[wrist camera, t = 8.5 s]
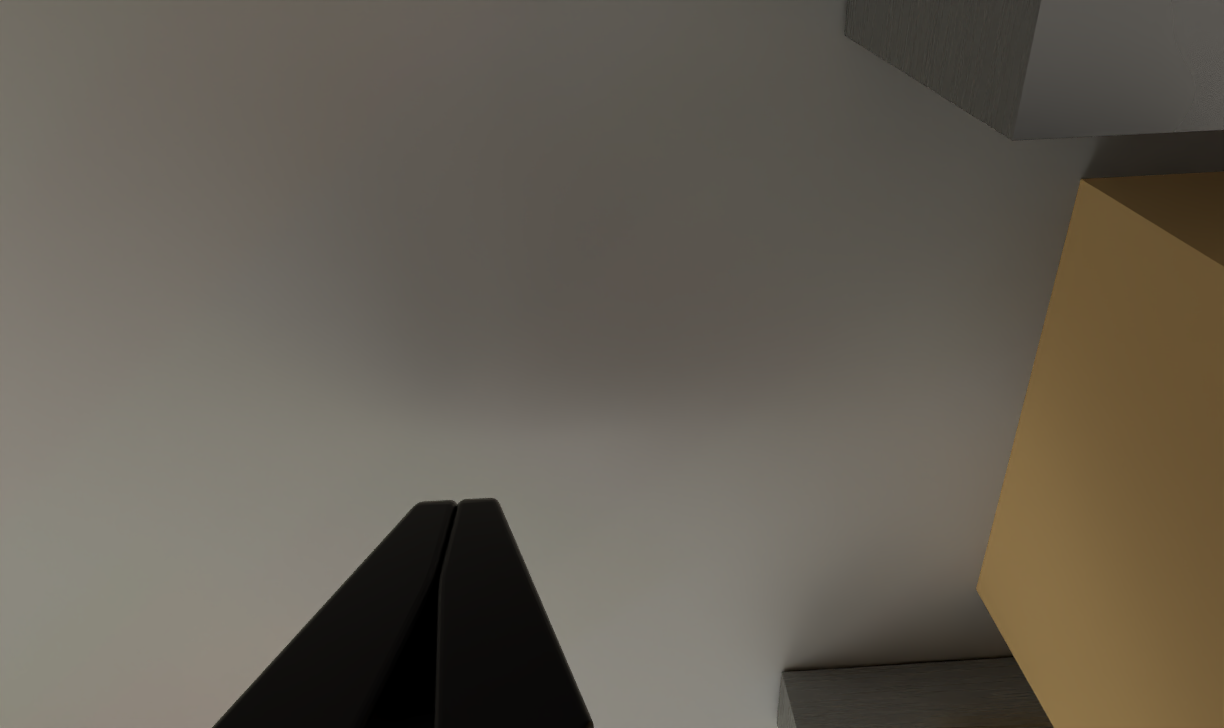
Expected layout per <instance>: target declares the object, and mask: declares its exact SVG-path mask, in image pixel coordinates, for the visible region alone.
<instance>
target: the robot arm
mask: <svg viewBox="0 0 1224 728" xmlns="http://www.w3.org/2000/svg"><path fill="white" fill-rule="evenodd" d="M212 728H594V725H593V721H592V719H591V717H590V714H589V712H588V710H587V707H586V705H585V703H584V700H583V698H582V696H581V693H580V691H579V689H578V686H577V684H576V681H575V679H574V677H573V674H572V672H571V670H570V667H569V665H568V663H567V660H566V658H565V656H564V653H563V651H562V649H561V646H560V644H559V642H558V639H557V637H556V635H555V632H554V630H553V628H552V625H551V623H550V621H549V618H548V616H547V614H546V611H545V609H544V607H543V604H542V602H541V600H540V597H539V595H538V592H537V590H536V588H535V585H534V583H533V581H532V578H531V576H530V574H529V571H528V569H527V567H526V564H525V562H524V560H523V557H522V555H521V553H520V550H519V548H518V546H517V543H516V541H515V539H514V536H513V534H512V532H511V529H510V527H509V525H508V522H507V520H506V518H505V515H504V513H503V511H502V508H501V506H500V504H499V502H498V501H497V500H496V499H494V498H480V499H464V500H462V501H460V502H459V503H458V505H457V503H456V502H455V501H453V500H442V501H424V502H419V503H418V504H416V505H415V506H414V507H413V508H412V509H411V510H410V511H409V512H408V513H407V514H406V515H405V517H404V518H403V519H402V520H401V521H400V522H399V523H398V524H397V525H396V526H395V528H394V529H393V530H392V531H391V532H390V533H389V534H388V535H387V536H386V537H385V538H384V540H383V541H382V542H381V543H380V544H379V545H378V546H377V547H376V548H375V549H374V551H373V552H372V553H371V554H370V555H369V556H368V557H367V558H366V559H365V560H364V562H363V563H362V564H361V565H360V566H359V567H358V568H357V569H356V570H355V571H354V573H353V574H352V575H351V576H350V577H349V578H348V579H347V580H346V581H345V582H344V583H343V585H342V586H341V587H340V588H339V589H338V590H337V591H336V592H335V593H334V594H333V596H332V597H331V598H330V599H329V600H328V601H327V602H326V603H325V604H324V605H323V607H322V608H321V609H320V610H319V611H318V612H317V613H316V614H315V615H314V616H313V618H312V619H311V620H310V621H309V622H308V623H307V624H306V625H305V626H304V627H303V628H302V630H301V631H300V632H299V633H298V634H297V635H296V636H295V637H294V638H293V639H292V641H291V642H290V643H289V644H288V645H287V646H286V647H285V648H284V649H283V650H282V652H281V653H280V654H279V655H278V656H277V657H276V658H275V659H274V660H273V661H272V662H271V664H270V665H269V666H268V667H267V668H266V669H265V670H264V671H263V672H262V673H261V675H260V676H259V677H258V678H257V679H256V680H255V681H254V682H253V683H252V684H251V686H250V687H249V688H248V689H247V690H246V691H245V692H244V693H243V694H242V695H241V697H240V698H239V699H238V700H237V701H236V702H235V703H234V704H233V705H232V706H231V707H230V709H229V710H228V711H227V712H226V713H225V714H224V715H223V716H222V717H221V718H220V720H219V721H218V722H217V723H216V724H215V725H214V726H213V727H212Z"/></svg>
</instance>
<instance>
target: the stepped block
mask: <svg viewBox="0 0 1224 728" xmlns="http://www.w3.org/2000/svg"><path fill="white" fill-rule="evenodd" d="M976 590H977V592H978V594H979V595H980V597H981V599H982V601H983V603H984V604H985V606H986V608H987V610H988V611H989V613H990V615H991V617H992V619H993V620H994V622H995V624H996V626H997V627H998V629H999V631H1000V633H1001V635H1002V636H1003V638H1004V640H1005V642H1006V643H1007V645H1008V647H1009V649H1010V651H1011V652H1012V654H1013V656H1014V658H1015V659H1016V661H1017V663H1018V665H1019V666H1020V668H1021V670H1022V672H1023V674H1024V675H1025V677H1026V679H1027V681H1028V682H1029V684H1030V686H1031V688H1032V690H1033V691H1034V693H1035V695H1036V697H1037V698H1038V700H1039V702H1040V704H1041V706H1042V707H1043V709H1044V711H1045V713H1046V714H1047V716H1048V718H1049V720H1050V722H1051V723H1052V725H1053V727H1054V728H1224V171H1223V172H1204V173H1185V174H1166V175H1147V176H1128V177H1109V178H1090V179H1081V180H1080V184H1079V188H1078V192H1077V196H1076V200H1075V204H1074V208H1073V212H1072V216H1071V220H1070V224H1069V227H1068V231H1067V235H1066V239H1065V243H1064V247H1063V251H1062V255H1061V259H1060V263H1059V267H1058V271H1057V274H1056V278H1055V282H1054V286H1053V290H1052V294H1051V298H1050V302H1049V306H1048V310H1047V314H1046V318H1045V322H1044V325H1043V329H1042V333H1041V337H1040V341H1039V345H1038V349H1037V353H1036V357H1035V361H1034V365H1033V369H1032V372H1031V376H1030V380H1029V384H1028V388H1027V392H1026V396H1025V400H1024V404H1023V408H1022V412H1021V416H1020V419H1019V423H1018V427H1017V431H1016V435H1015V439H1014V443H1013V447H1012V451H1011V455H1010V459H1009V463H1008V466H1007V470H1006V474H1005V478H1004V482H1003V486H1002V490H1001V494H1000V498H999V502H998V506H997V510H996V513H995V517H994V521H993V525H992V529H991V533H990V537H989V541H988V545H987V549H986V553H985V557H984V560H983V564H982V568H981V572H980V576H979V580H978V584H977V588H976Z"/></svg>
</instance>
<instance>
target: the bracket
mask: <svg viewBox="0 0 1224 728" xmlns="http://www.w3.org/2000/svg"><path fill="white" fill-rule="evenodd" d="M845 36H847V37H848V38H850V39H852V40H853V41H855V42H856V43H858V44H859V45H861V46H863V47H864V48H866V49H867V50H869V51H871V52H872V53H874V54H875V55H877V56H879V57H880V58H882V59H883V60H885V61H887V62H888V63H890V64H891V65H893V66H894V67H896V68H898V69H899V70H901V71H902V72H904V73H906V74H907V75H909V76H910V77H912V78H914V79H915V80H917V81H918V82H920V83H921V84H923V85H925V86H926V87H928V88H929V89H931V90H933V91H934V92H936V93H937V94H939V95H941V96H942V97H944V98H945V99H947V100H948V101H950V102H952V103H953V104H955V105H956V106H958V107H960V108H961V109H963V110H964V111H966V112H968V113H969V114H971V115H972V116H974V117H976V118H977V119H979V120H980V121H982V122H983V123H985V124H987V125H988V126H990V127H991V128H993V129H995V130H996V131H998V132H999V133H1001V134H1003V135H1004V136H1006V137H1007V138H1009V139H1010V140H1012V141H1014V140H1034V139H1053V138H1073V137H1092V136H1112V135H1132V134H1151V133H1171V132H1190V131H1210V130H1224V0H848V6H847V16H846V26H845ZM777 726H778V728H1054V727H1053V725H1052V723H1051V722H1050V720H1049V718H1048V716H1047V714H1046V713H1045V711H1044V709H1043V707H1042V706H1041V704H1040V702H1039V700H1038V698H1037V697H1036V695H1035V693H1034V691H1033V690H1032V688H1031V686H1030V684H1029V682H1028V681H1027V679H1026V677H1025V675H1024V674H1023V672H1022V670H1021V668H1020V666H1019V665H1018V663H1017V661H1016V659H1015V658H998V659H982V660H967V661H951V662H935V663H919V664H903V665H888V666H872V667H856V668H840V669H824V670H809V671H793V672H782V676H781V686H780V697H779V707H778V717H777Z"/></svg>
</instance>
